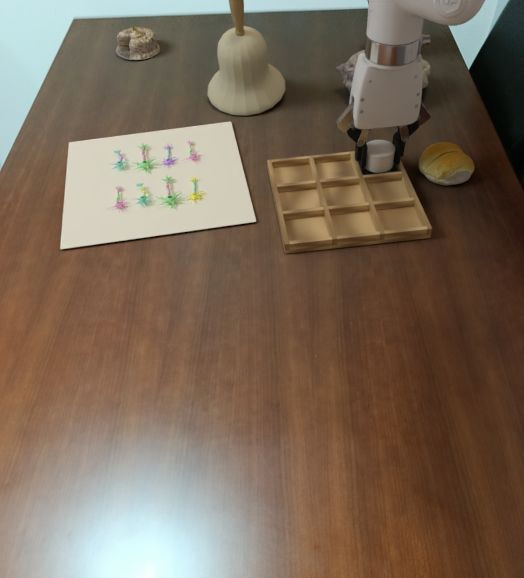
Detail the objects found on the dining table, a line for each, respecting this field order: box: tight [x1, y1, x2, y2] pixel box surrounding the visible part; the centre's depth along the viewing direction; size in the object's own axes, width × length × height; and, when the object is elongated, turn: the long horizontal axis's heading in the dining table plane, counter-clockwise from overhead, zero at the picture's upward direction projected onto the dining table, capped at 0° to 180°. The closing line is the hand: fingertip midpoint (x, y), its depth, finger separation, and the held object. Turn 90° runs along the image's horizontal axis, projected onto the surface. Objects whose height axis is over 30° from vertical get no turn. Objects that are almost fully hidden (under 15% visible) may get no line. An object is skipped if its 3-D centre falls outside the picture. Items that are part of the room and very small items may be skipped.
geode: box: [335, 49, 432, 94], centre depth 110 cm, size 17×9×15 cm
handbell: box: [207, 0, 286, 117], centre depth 104 cm, size 15×15×25 cm
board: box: [266, 150, 433, 255], centre depth 92 cm, size 22×22×2 cm
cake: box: [115, 26, 161, 61], centre depth 128 cm, size 10×10×5 cm
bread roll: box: [418, 141, 475, 186], centre depth 95 cm, size 8×9×4 cm
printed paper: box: [59, 121, 257, 250], centre depth 98 cm, size 30×30×2 cm
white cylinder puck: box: [365, 139, 395, 173], centre depth 95 cm, size 5×5×3 cm
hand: (378, 160), depth 95 cm, fingers closed on white cylinder puck, 5 cm apart
